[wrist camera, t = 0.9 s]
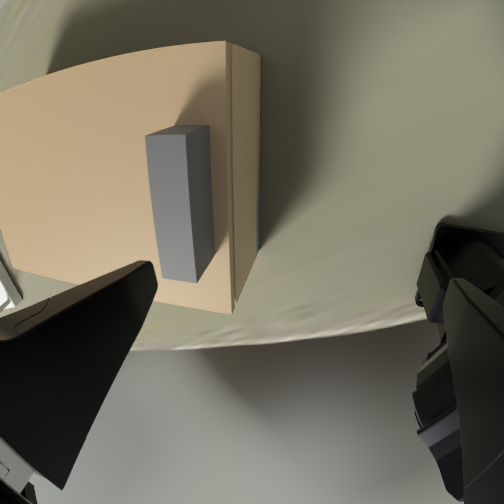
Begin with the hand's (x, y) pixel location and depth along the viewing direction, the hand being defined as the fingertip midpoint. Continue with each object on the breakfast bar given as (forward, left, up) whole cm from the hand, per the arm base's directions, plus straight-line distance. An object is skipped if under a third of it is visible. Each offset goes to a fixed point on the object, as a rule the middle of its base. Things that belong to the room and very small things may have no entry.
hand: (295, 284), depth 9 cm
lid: (+12, -1, -6) cm, 14 cm away
